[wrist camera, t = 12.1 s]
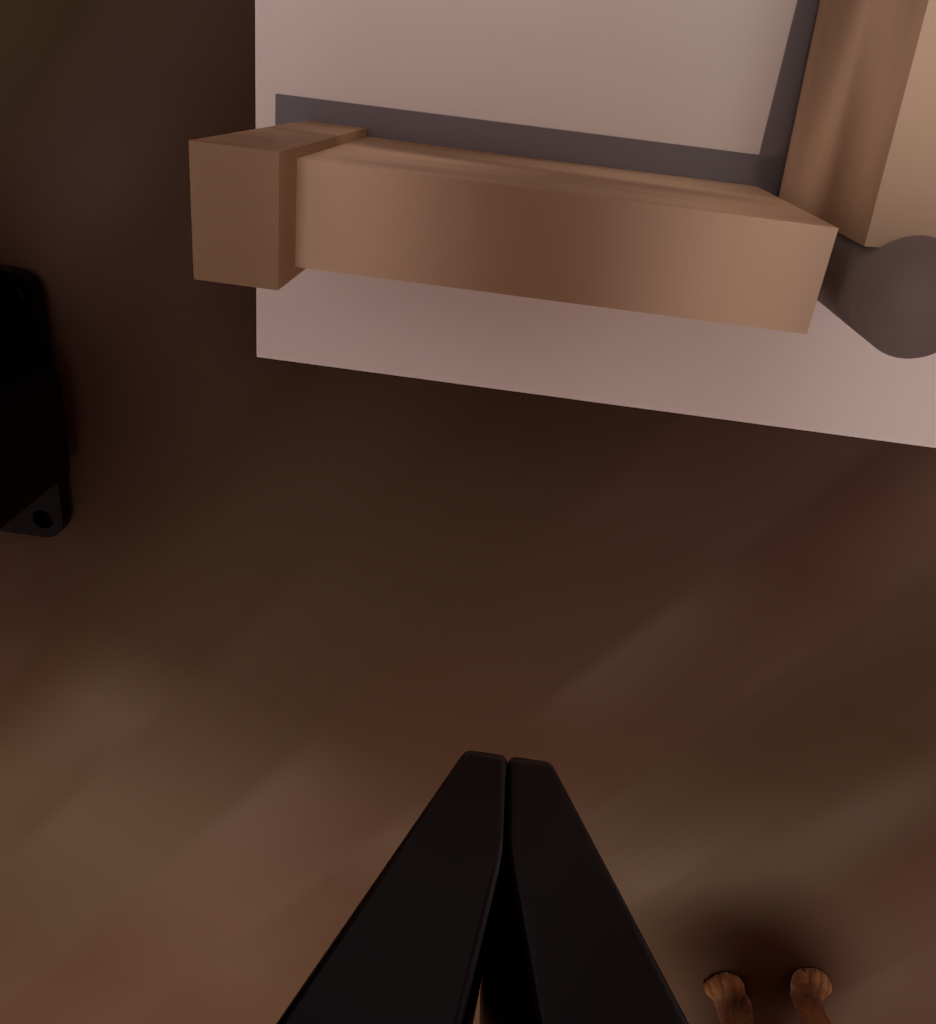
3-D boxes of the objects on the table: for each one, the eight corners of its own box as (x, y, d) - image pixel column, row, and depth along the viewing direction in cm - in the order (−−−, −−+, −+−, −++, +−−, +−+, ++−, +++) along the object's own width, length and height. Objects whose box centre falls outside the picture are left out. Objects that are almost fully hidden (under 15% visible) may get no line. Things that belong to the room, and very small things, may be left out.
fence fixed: (307, 214, 18) (194, 278, 12) (310, 119, 17) (188, 140, 11) (731, 269, 17) (821, 361, 12) (755, 176, 17) (863, 227, 11)
